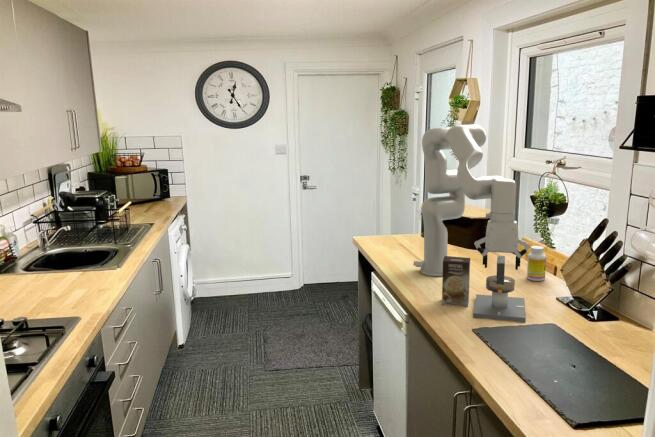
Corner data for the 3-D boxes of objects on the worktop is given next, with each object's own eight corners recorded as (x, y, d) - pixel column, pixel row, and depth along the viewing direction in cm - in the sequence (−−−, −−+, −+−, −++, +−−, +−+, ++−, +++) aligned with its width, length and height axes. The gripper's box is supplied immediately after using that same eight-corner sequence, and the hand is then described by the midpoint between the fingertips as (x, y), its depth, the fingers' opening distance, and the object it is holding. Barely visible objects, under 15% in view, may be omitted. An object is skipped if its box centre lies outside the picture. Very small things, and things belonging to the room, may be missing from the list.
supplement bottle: (546, 281, 199) (548, 249, 196) (528, 281, 200) (529, 249, 198) (543, 276, 205) (544, 245, 203) (525, 275, 207) (526, 244, 204)
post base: (473, 317, 168) (473, 296, 167) (476, 298, 185) (476, 278, 183) (525, 322, 163) (526, 300, 162) (524, 302, 180) (524, 282, 178)
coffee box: (441, 305, 180) (441, 260, 177) (443, 298, 186) (443, 255, 183) (468, 307, 177) (469, 262, 174) (469, 300, 183) (470, 257, 180)
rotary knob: (486, 282, 178) (487, 254, 176) (514, 284, 175) (515, 256, 173) (485, 294, 167) (485, 264, 165) (514, 296, 164) (515, 266, 162)
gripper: (474, 218, 167) (473, 269, 170) (531, 220, 161) (529, 272, 164) (475, 214, 174) (474, 263, 177) (530, 215, 168) (528, 266, 171)
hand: (501, 267), depth 171 cm, fingers open, 9 cm apart
